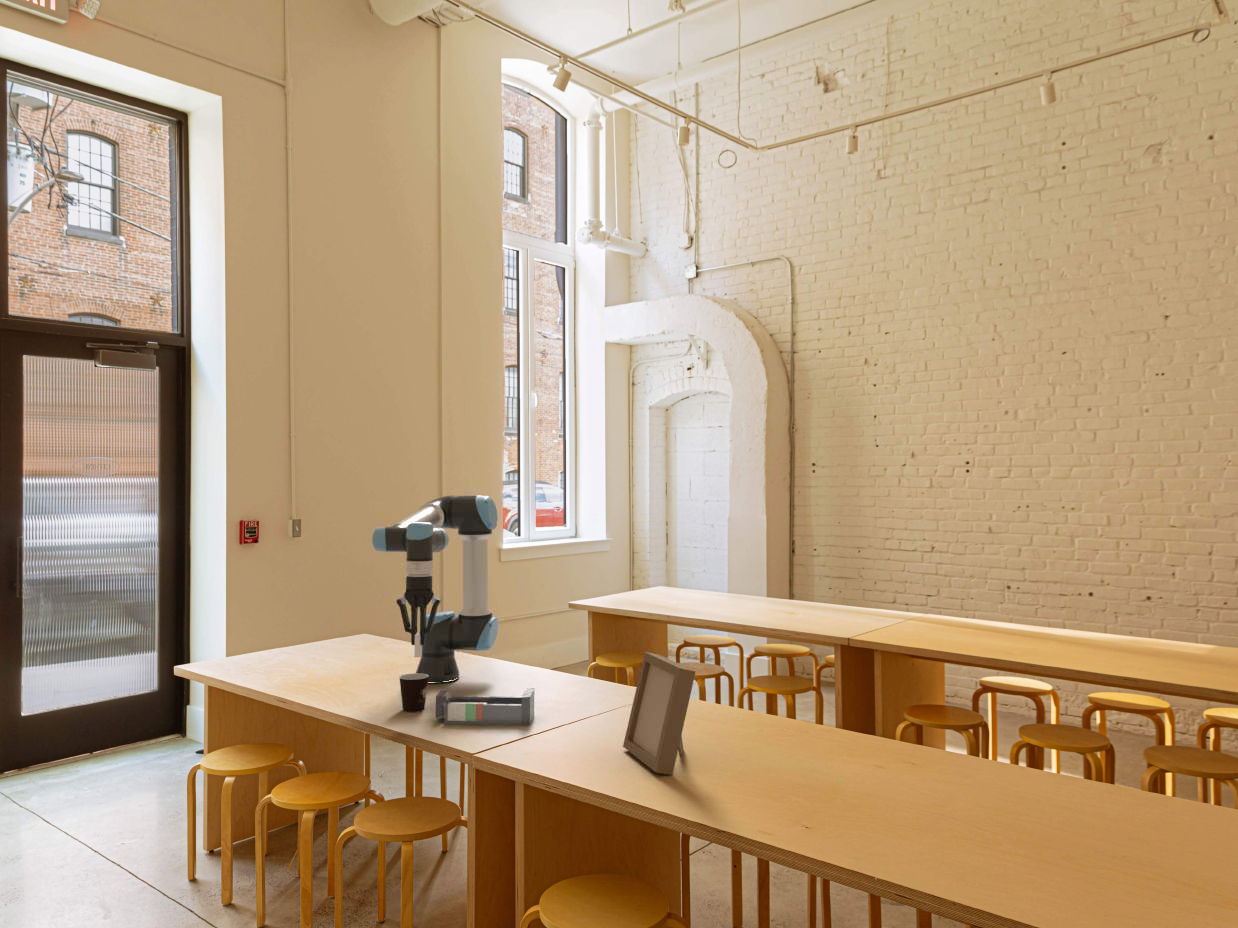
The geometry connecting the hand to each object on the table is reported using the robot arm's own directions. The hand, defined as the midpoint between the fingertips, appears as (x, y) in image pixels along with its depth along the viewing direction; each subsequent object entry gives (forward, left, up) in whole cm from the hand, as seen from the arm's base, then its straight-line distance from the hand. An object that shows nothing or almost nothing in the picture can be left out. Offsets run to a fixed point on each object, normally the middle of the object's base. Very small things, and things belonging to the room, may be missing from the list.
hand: (418, 656), depth 251 cm
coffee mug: (-12, -3, -18) cm, 22 cm away
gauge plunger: (+1, +13, -17) cm, 21 cm away
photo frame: (+35, +71, -19) cm, 81 cm away
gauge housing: (0, +21, -18) cm, 28 cm away
